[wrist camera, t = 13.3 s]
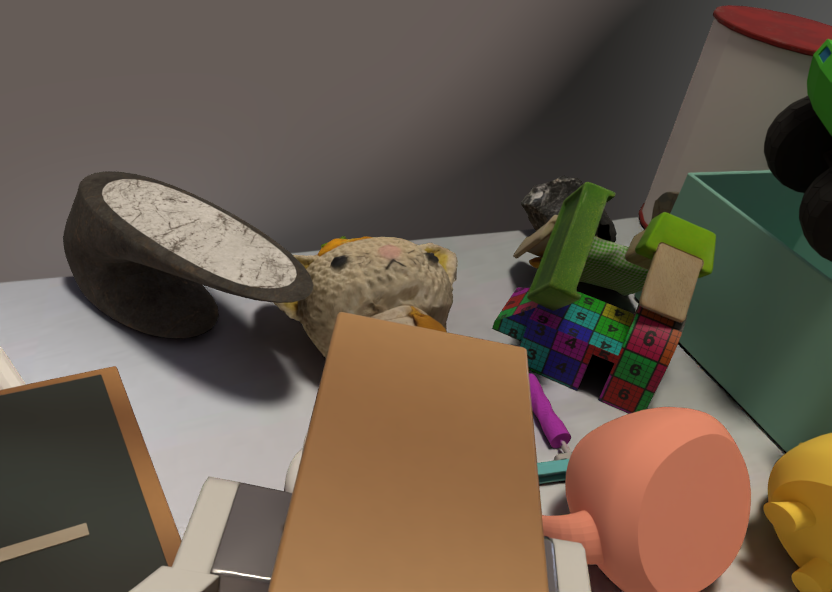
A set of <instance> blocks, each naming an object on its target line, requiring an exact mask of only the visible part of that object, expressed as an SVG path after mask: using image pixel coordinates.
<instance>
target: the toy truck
mask: <svg viewBox="0 0 832 592" xmlns="http://www.w3.org/2000/svg"><path fill="white" fill-rule="evenodd" d="M807 94H808V96H806V97H804V98H802V99H800V100H797V101H795V102H793V103H792V104H790V105H789V106H788V107H786V108H785V109H784V110H783V111H782V112H780V113H779V114H778V115H777V116H776V118H775V119H774V121H773V122H772V124H771V125H770V127H769V128H768V130H767V134H766V138H765V142H764V155H765V158H766V161H767V165H768V168H769V169H770V171H771V172H772V174H773V176H774V177H775V178H776V179H777V180H778V181H779V182H780V183H781V184H782V185H784V186H786V187H788V188H790V189H792V190H794V191H796V192H800V193H804V195H803V198H802V201H801V204H800V207H799V221H800V224H801V228H802V231H803V234H804V236H805V238H806V240H807V241H808V243H809V245H810V246H811V247H812V248H813V249H814V250H815V251H816V252H817V253H818V254H819V255H820V256H821V257H823V258H825V259H827V260H829V261H831V262H832V40H830V39H827V40H826V41H825V42H824V43H823V44H822V46H821V47H820V48H819V49H818V50H817V51H816V52H815V53H814V55H813V58H812V61H811V65H810V68H809V73H808V78H807Z"/></svg>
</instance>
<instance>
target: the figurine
mask: <svg viewBox="0 0 832 592" xmlns="http://www.w3.org/2000/svg"><path fill="white" fill-rule="evenodd" d="M321 247H322V249H321V250H320V251H319V253H318V255H314V256H304V255H301V256H299V255H293V256H294V257H295V258H296V259H297V260H298V261H299V262H300V263H301V264H302V265H303V266H304V267H305V269H306V270H307V271H308V273H309V274H310V276H311V279H312V282H313V285H314V286H313V290H312V293H311V294H310V295H309V296H308V297H307V298H305V299H303V300H300V301H296V302H292V303H274V302H273V303H274V304H275V305H276V306H277V307H279V309H280V310H282V311H283V312H285V313H286V315H288V316H289V317H290V318H291V319H295V320H297V321H300V323H301V324H303V328H304V330H305V331H306V333H307V335H308V336H309V338H310V339H311V340H312V341H313V343H314V344H315V345H316V347H317V348H318V349H319V351H320V352H321V353H322V354H323V356H325V357H327V353H328V349H329V345H330V341H331V337H332V333H333V329H334V325H335V321H336V317H337V315H338V313H339V312H345V313H350V314H355V315H360V316H365V317H370V318H376V319H381V320H386V321H391V322H396V323H401V324H406V325H411V326H416V327H422V328H427V329H432V330H437V331H442V332H447V331H446V321H447V318H448V313H449V311H450V308H451V306H452V303H453V294H452V291H453V288H452V284H453V282H454V281H456V275H457V268H456V267H457V262H458V261H457V257H456V254H455V253H453V252H451V251H450V250H448V249H446V248H443V247H441V246H438V245H434V244H433V243H427V244H422V245H419V246H417V245H416V244H414V243H412V242H410V241H407V240H404V239H401V238H399V239H398V238H393V237H379V238H378V237H376V238H372V237H362V238H353V239H350V240H348V239H346V237H344V236H343V237H341V238H339V239H333V240H332V241H330V242H328V243H325V244H323V245H321ZM454 279H455V280H454ZM323 356H322V357H323Z"/></svg>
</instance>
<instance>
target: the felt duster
mask: <svg viewBox="0 0 832 592" xmlns="http://www.w3.org/2000/svg"><path fill="white" fill-rule="evenodd" d="M268 592H549V588H548V577H547V566H546V555H545V544H544V533H543V522H542V511H541V501H540V490H539V479H538V468H537V457H536V446H535V435H534V424H533V413H532V403H531V392H530V381H529V370H528V359H527V350H526V349H525V348H523V347H519V346H513V345H508V344H503V343H498V342H493V341H488V340H483V339H478V338H473V337H468V336H462V335H457V334H452V333H447V332H442V331H437V330H432V329H427V328H422V327H416V326H411V325H406V324H401V323H396V322H391V321H386V320H381V319H376V318H370V317H365V316H360V315H355V314H350V313H345V312H339V313H338V315H337V317H336V321H335V325H334V329H333V333H332V337H331V341H330V345H329V349H328V353H327V357H326V361H325V365H324V369H323V373H322V377H321V381H320V385H319V389H318V393H317V397H316V401H315V405H314V409H313V413H312V417H311V421H310V425H309V429H308V433H307V437H306V441H305V445H304V449H303V453H302V457H301V461H300V465H299V469H298V473H297V477H296V481H295V485H294V489H293V493H292V497H291V501H290V504H289V508H288V512H287V516H286V520H285V524H284V528H283V532H282V536H281V540H280V544H279V548H278V552H277V556H276V560H275V564H274V568H273V572H272V576H271V580H270V584H269V588H268Z"/></svg>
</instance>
